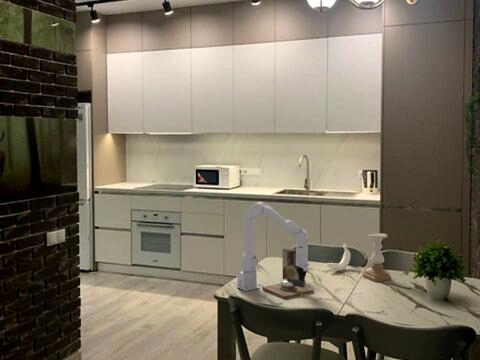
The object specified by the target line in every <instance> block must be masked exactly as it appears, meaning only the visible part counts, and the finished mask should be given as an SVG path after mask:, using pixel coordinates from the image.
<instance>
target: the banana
mask: <svg viewBox="0 0 480 360" xmlns="http://www.w3.org/2000/svg"><path fill="white" fill-rule="evenodd" d="M342 248H343V249H344V253H343V255H342V258H341V261H340V262H339V263H336V262H335V263H334V262H327V263H326V266H327V268H329V269H331V270H333V271H337V272H342V271H345V270H346V269H347V267H348V266H349V263H350V260H351V252H350V250H349V249H348V247H347V244H346V243H345V242H343V245H342Z"/></svg>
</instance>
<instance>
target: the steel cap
mask: <svg viewBox="0 0 480 360" xmlns="http://www.w3.org/2000/svg"><path fill="white" fill-rule="evenodd" d="M280 283H281V287H283V288H294V287H295V286H298V287H306V280H300V279H293V278H288V279H283V278H282V279H281V280H280Z"/></svg>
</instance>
